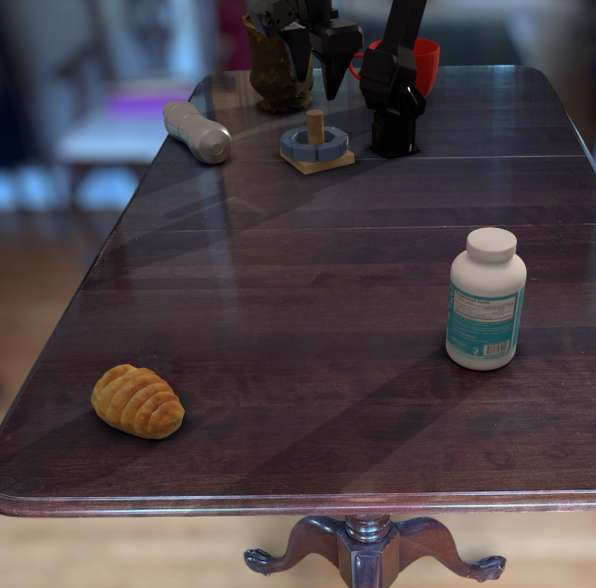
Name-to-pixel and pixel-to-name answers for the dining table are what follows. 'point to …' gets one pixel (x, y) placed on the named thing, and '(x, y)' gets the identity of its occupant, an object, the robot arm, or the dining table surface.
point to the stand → (317, 138)
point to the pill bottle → (485, 300)
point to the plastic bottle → (197, 132)
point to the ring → (312, 153)
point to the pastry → (137, 402)
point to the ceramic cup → (417, 63)
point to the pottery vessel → (276, 72)
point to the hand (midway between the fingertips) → (315, 91)
